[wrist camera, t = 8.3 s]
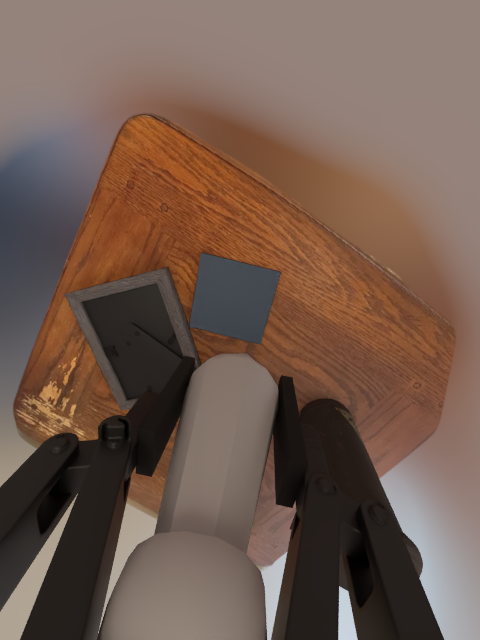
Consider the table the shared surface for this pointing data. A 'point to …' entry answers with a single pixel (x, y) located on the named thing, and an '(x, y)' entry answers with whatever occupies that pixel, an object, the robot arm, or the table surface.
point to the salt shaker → (204, 517)
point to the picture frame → (135, 332)
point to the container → (349, 463)
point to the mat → (233, 298)
